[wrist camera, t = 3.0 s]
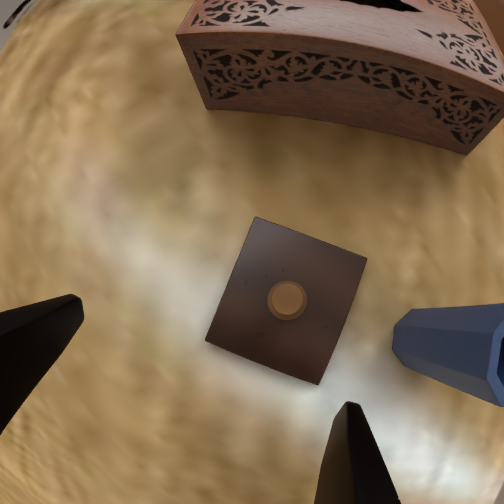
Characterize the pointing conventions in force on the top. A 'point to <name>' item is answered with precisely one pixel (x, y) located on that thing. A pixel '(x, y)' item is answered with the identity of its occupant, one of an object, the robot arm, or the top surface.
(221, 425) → the top surface
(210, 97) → the tissue box cover
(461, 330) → the blue sleeve
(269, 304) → the brown plate with knob
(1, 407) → the robot arm
